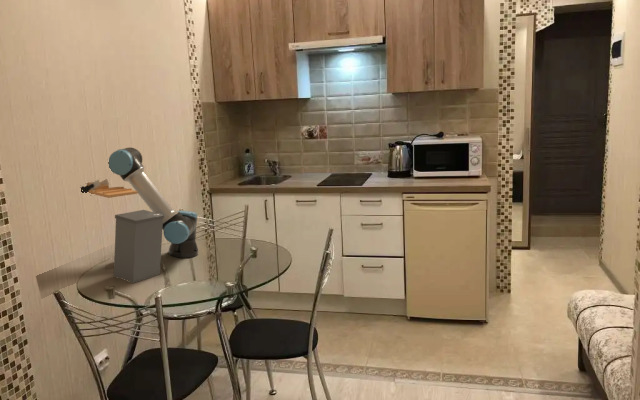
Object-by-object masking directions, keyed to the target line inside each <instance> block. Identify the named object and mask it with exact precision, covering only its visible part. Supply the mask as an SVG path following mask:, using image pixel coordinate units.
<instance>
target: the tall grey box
mask: <svg viewBox="0 0 640 400" xmlns="http://www.w3.org/2000/svg"><path fill="white" fill-rule="evenodd" d="M163 218H164V215H162V214H158V213H154V212H152V211H150V210H146V209H141V210H134V211H130V212H124V213H118V214H114V219H115V231H114V232H115V233H114V234H115V236H114V237H115V238H114V264H113V277H114V276H115V277H114V278H117V277H118V278H117V279H120V278H123V279H125V280H128V281H130V282H129V283H131V282H132V283H131V284H135V283H139V282H142V281H144V280H147V279H151V278H154V277H156V276H159V275H160V274H161V260H162V258H161V257H162V245H163V244H162V243H163V229H162V226H163ZM125 280H124V281H125ZM128 281H127V282H128Z"/></svg>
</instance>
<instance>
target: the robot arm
mask: <svg viewBox="0 0 640 400" xmlns="http://www.w3.org/2000/svg"><path fill="white" fill-rule="evenodd" d="M108 159H109V162H108V164H109V168H110V169H111V171H112V172H113V174H116V175H117V176H119V177H120V178H121V179H122V180H123V181H124V182H128V183H129V184H130V185H131V186H132V188H133V190H135V191H138V196H139V197H141V199H142V200H143V202H144V203H145V204H146V205H147V206H148V207H149V209H150V210H151V212H154V213H158V214H162V215H164V218H163V226H162V232H163V237H164V238H165V240H166V241H168V242H169V243H170V246H169V247H168V255H169V256H172V257H175V258H180V259H181V258H182V259H183V258H184V259H186V258H187V259H189V258H194V257H197V256H198V255H199V247H198V244H197V240H196V239H197V224H198V223H197V222H198V214H197V212H194V211H190V210H174V208H173V207H172V206H171V204H170V203H169V202H168V201H167V199H166V198H165V197H164V195H163V194H162V193H161V192H160V190H159V189H158V187H156V186H155V183H153V181H152V180H151V179H150V178H149V175H147V174H146V172H145V166H144V165H143V155H142V153H141V152H140V151H139V150H138V149H137V148H135V147H125V148H121V149H117V150H115V151H113V152H112V153H111V154H110V155H109V158H108ZM92 182H93V183H91V184H90V185H89V186H87V185H86V186H83V185H81V187H80V188H81V192H82V193H84V192H85V193H87V192H89V190H93V189H95V188H97V187H99V186H101V185H100V184H104V185H109V186H110V184H109V180H108V179H103V180H102V181H100V180H99V179H97V180H94V181H92ZM82 190H83V191H82Z"/></svg>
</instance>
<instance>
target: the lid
mask: <svg viewBox="0 0 640 400" xmlns="http://www.w3.org/2000/svg"><path fill="white" fill-rule="evenodd" d="M93 182H94V181H91V182H88V183H86V186H89V185H90V184H91V183H93ZM100 185H101V186H99V187H97V188H95V189H93V190H89V193H91V194H95V195H94V196H99V197H103V198H108V199H110V198H117V197H123V196H131V195H137V194H138V191H136V190H135V189H132V188H125V187H124V186H113V187H110V184H109V185H104V184H100ZM138 195H139V194H138Z"/></svg>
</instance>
